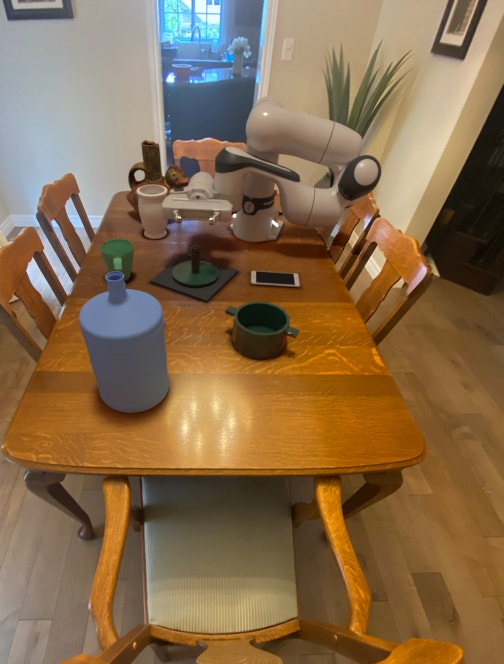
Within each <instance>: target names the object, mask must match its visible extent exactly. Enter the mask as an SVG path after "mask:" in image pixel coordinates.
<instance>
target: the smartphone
mask: <svg viewBox="0 0 504 664" xmlns="http://www.w3.org/2000/svg"><path fill="white" fill-rule="evenodd" d="M250 284H251V285H253V286H255V285H256V286H271V287H286V288H287V287H289V288H300V286H301V284H300V277H299V274H298V273H296V272H295V273H294V272H293V273H292V272H280V271H279V272H278V271H264V270H263V271H262V270H251V272H250Z"/></svg>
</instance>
